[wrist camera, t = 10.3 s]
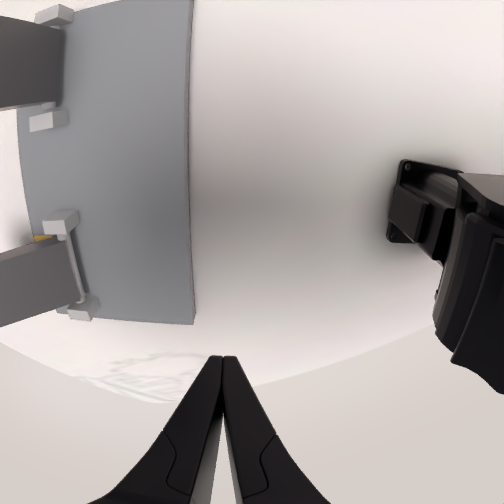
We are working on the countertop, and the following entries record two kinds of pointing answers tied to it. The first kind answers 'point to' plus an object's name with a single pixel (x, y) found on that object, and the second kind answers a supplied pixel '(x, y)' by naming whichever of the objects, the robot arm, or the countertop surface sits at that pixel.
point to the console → (117, 158)
